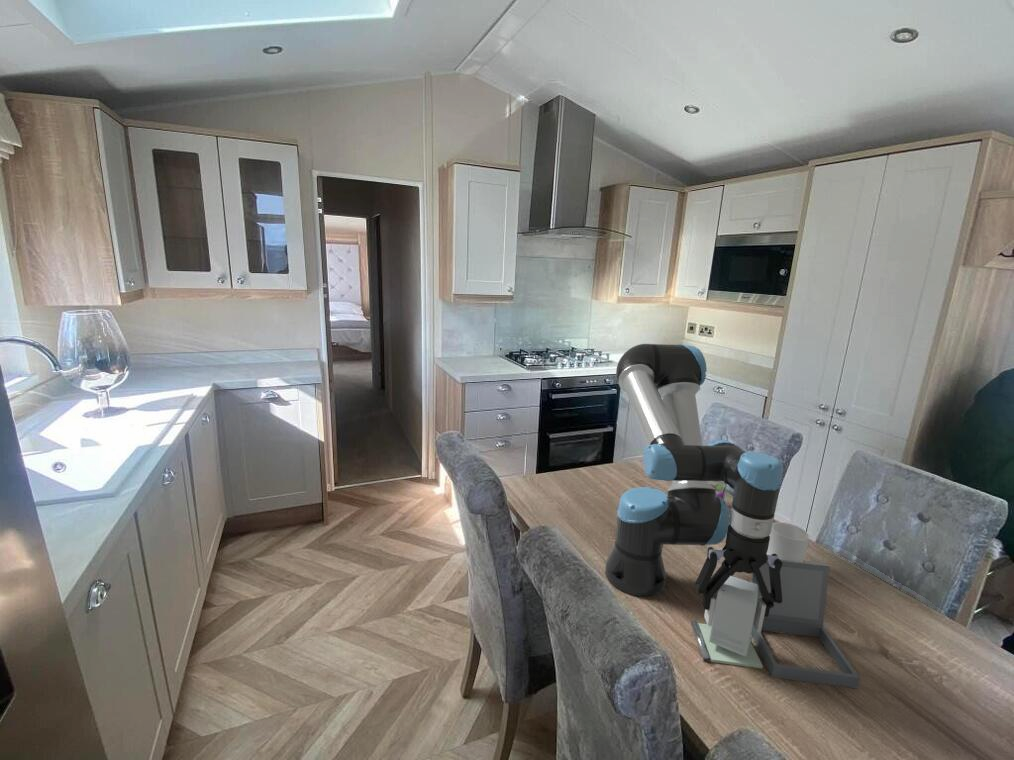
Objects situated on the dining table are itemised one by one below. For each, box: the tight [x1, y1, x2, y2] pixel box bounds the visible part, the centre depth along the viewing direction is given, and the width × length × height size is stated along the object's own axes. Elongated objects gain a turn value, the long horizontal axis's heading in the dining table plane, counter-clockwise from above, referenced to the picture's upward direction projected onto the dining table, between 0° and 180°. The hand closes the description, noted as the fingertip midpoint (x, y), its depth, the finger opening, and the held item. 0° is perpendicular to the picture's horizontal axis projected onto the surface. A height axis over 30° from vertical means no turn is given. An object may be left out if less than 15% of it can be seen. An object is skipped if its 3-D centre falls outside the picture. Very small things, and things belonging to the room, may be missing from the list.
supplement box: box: [709, 575, 759, 656], centre depth 97 cm, size 7×7×13 cm
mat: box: [697, 622, 764, 669], centre depth 99 cm, size 10×10×1 cm
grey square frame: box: [751, 618, 861, 689], centre depth 97 cm, size 16×14×2 cm
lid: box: [750, 559, 830, 626], centre depth 103 cm, size 16×14×1 cm
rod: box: [690, 619, 710, 662], centre depth 100 cm, size 1×10×1 cm, turn 172°
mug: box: [767, 521, 810, 562], centre depth 127 cm, size 9×12×11 cm
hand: (731, 624), depth 98 cm, fingers closed on supplement box, 9 cm apart
